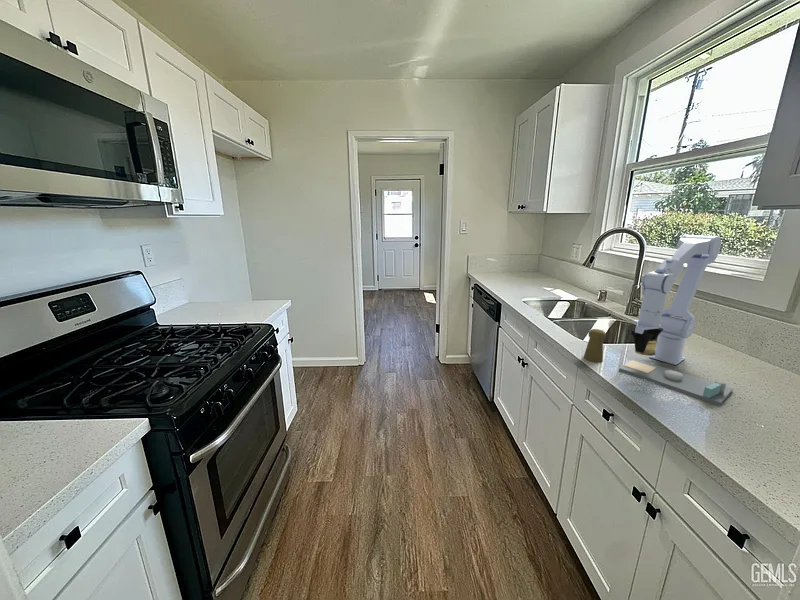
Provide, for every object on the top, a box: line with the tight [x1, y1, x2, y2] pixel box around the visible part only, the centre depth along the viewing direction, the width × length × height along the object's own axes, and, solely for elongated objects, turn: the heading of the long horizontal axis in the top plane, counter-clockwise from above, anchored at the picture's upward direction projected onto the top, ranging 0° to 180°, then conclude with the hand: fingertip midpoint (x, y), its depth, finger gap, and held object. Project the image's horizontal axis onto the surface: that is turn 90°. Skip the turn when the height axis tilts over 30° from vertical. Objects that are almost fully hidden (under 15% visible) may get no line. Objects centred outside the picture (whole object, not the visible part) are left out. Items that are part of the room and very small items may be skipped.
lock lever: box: [703, 380, 727, 398], centre depth 93 cm, size 8×2×3 cm, turn 116°
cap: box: [634, 338, 658, 356], centre depth 108 cm, size 6×6×4 cm
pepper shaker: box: [583, 328, 607, 364], centre depth 117 cm, size 6×6×11 cm
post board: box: [618, 358, 734, 406], centre depth 103 cm, size 13×25×2 cm, turn 35°
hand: (643, 349), depth 109 cm, fingers closed on cap, 6 cm apart
